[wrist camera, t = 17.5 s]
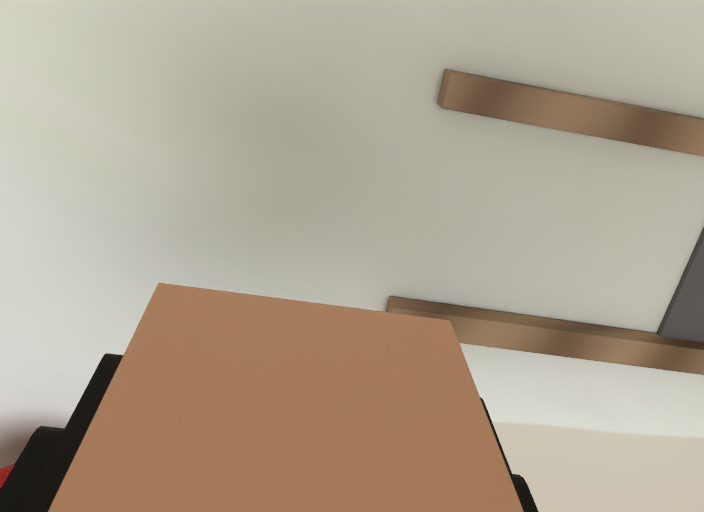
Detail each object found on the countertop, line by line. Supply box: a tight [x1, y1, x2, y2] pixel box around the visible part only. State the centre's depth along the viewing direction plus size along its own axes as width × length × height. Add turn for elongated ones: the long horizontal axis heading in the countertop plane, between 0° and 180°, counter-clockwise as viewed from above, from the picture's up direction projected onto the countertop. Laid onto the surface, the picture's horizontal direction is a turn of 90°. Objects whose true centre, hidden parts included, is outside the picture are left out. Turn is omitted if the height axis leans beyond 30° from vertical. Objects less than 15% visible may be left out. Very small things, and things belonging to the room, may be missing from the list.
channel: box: [386, 69, 704, 375], centre depth 32 cm, size 20×13×1 cm, turn 79°
